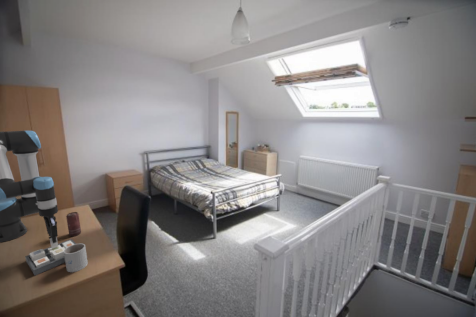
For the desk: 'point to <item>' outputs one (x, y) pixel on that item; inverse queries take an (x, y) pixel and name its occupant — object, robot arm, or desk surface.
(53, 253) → the key sand
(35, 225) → the desk surface
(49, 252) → the key olive
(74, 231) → the can
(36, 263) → the key rust
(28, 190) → the robot arm
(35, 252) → the key slate
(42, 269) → the keypad
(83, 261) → the mug
